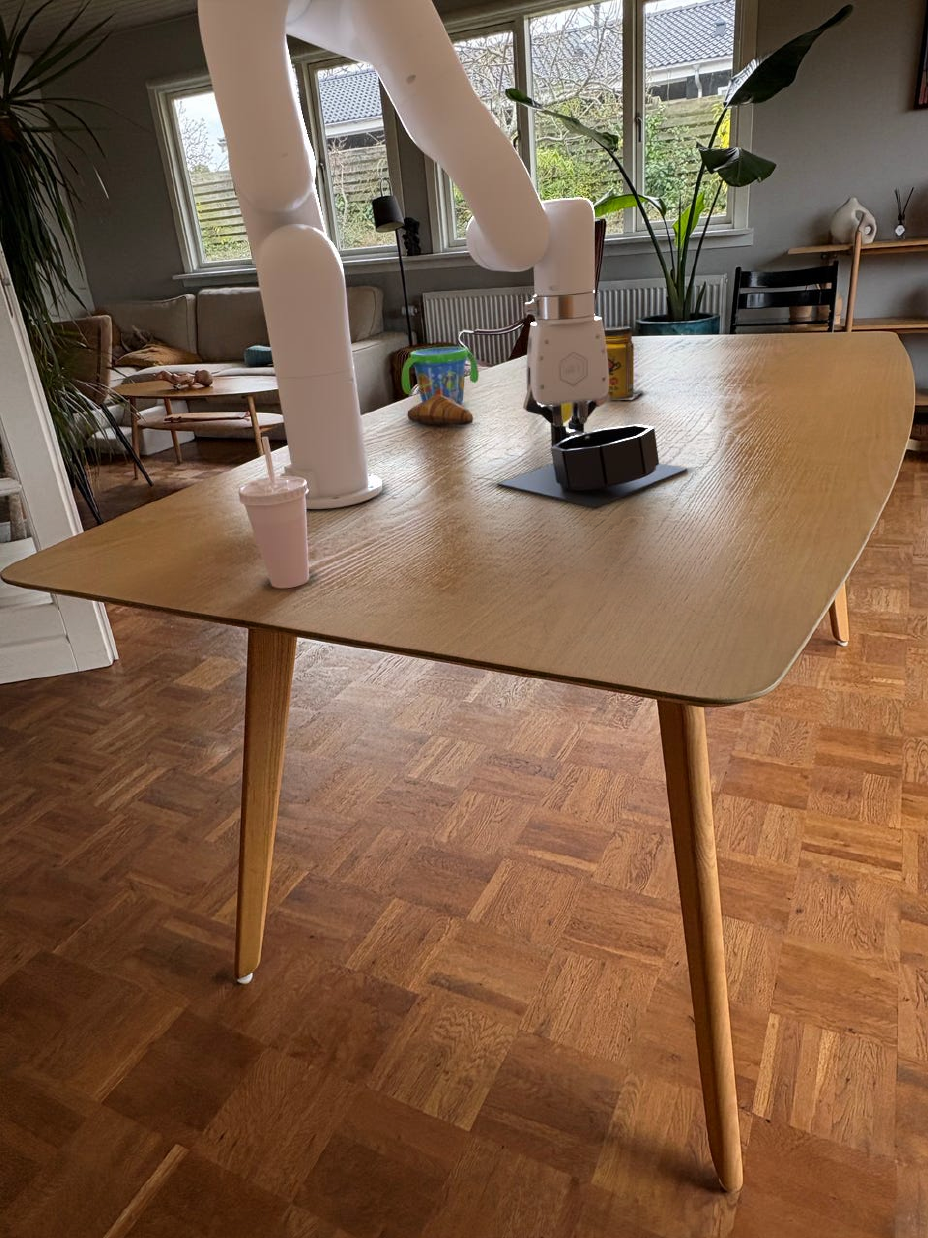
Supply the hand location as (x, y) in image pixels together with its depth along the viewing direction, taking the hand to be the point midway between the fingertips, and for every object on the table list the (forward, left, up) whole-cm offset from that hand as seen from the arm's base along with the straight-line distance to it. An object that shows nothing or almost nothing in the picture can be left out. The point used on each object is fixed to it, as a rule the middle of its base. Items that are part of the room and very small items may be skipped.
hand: (567, 451), depth 110 cm
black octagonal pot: (-4, -8, -1) cm, 9 cm away
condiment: (+39, +22, -2) cm, 45 cm away
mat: (-4, -8, -1) cm, 9 cm away
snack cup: (+17, +46, -2) cm, 49 cm away
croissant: (+7, +35, -2) cm, 36 cm away
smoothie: (-47, -6, -2) cm, 48 cm away
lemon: (+15, +15, -2) cm, 21 cm away
